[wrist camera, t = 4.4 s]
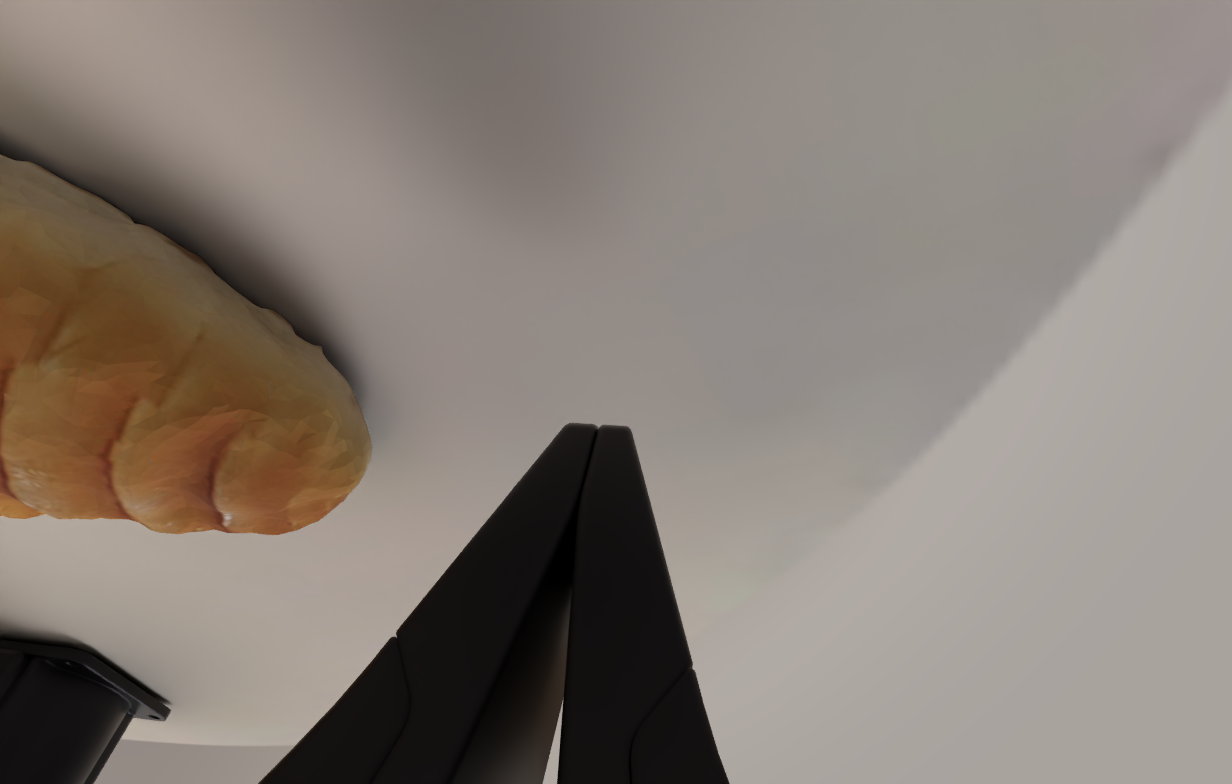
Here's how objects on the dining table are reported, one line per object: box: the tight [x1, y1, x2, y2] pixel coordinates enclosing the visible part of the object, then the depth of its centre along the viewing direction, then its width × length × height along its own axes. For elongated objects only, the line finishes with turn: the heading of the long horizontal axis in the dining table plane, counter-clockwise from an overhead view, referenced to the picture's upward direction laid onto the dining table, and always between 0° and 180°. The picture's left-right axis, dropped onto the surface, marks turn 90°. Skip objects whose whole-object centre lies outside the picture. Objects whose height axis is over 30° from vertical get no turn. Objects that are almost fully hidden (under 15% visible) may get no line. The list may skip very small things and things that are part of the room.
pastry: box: [0, 155, 372, 535], centre depth 11 cm, size 9×7×4 cm
